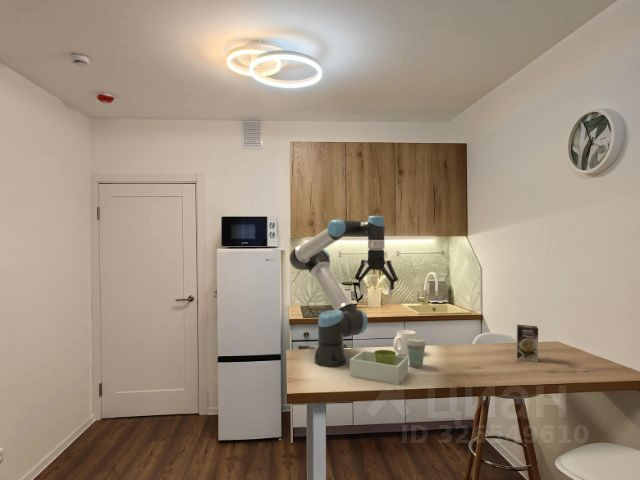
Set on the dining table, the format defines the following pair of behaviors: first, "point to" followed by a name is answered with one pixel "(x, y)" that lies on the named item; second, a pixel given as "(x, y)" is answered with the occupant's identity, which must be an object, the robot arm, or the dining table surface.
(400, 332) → the mug
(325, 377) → the dining table surface
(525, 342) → the coffee box
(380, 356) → the plant pot
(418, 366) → the coffee cup
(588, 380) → the dining table surface
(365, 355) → the box
